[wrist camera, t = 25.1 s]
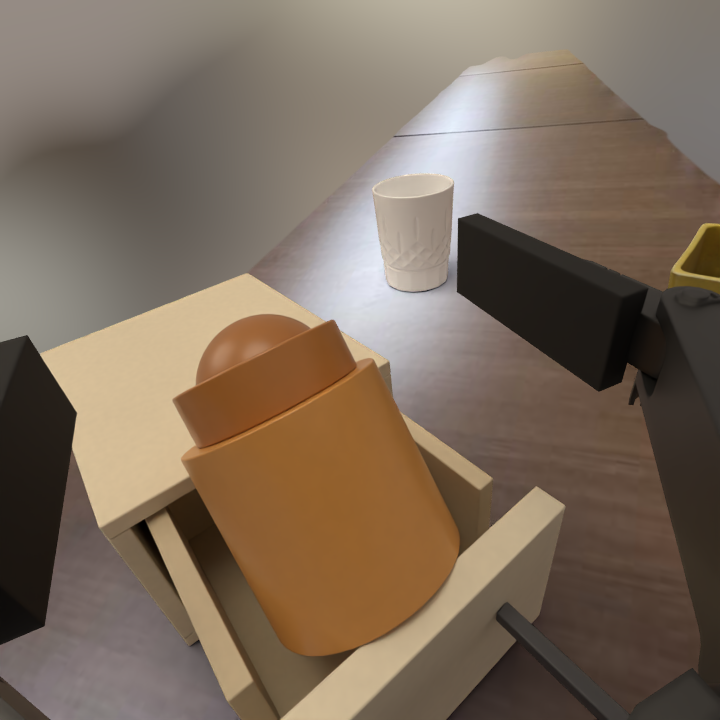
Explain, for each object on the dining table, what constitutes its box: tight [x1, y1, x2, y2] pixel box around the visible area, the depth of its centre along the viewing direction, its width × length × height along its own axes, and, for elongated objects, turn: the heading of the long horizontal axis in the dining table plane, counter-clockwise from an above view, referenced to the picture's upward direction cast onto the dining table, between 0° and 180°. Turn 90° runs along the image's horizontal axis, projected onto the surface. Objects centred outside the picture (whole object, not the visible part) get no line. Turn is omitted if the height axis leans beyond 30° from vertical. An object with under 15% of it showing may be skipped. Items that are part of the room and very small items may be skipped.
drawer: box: [145, 412, 630, 720], centre depth 18 cm, size 22×12×8 cm, turn 39°
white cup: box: [372, 174, 454, 292], centre depth 47 cm, size 8×8×10 cm
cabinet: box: [41, 273, 393, 646], centre depth 27 cm, size 16×14×10 cm
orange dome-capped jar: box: [172, 314, 460, 656], centre depth 16 cm, size 7×7×10 cm
